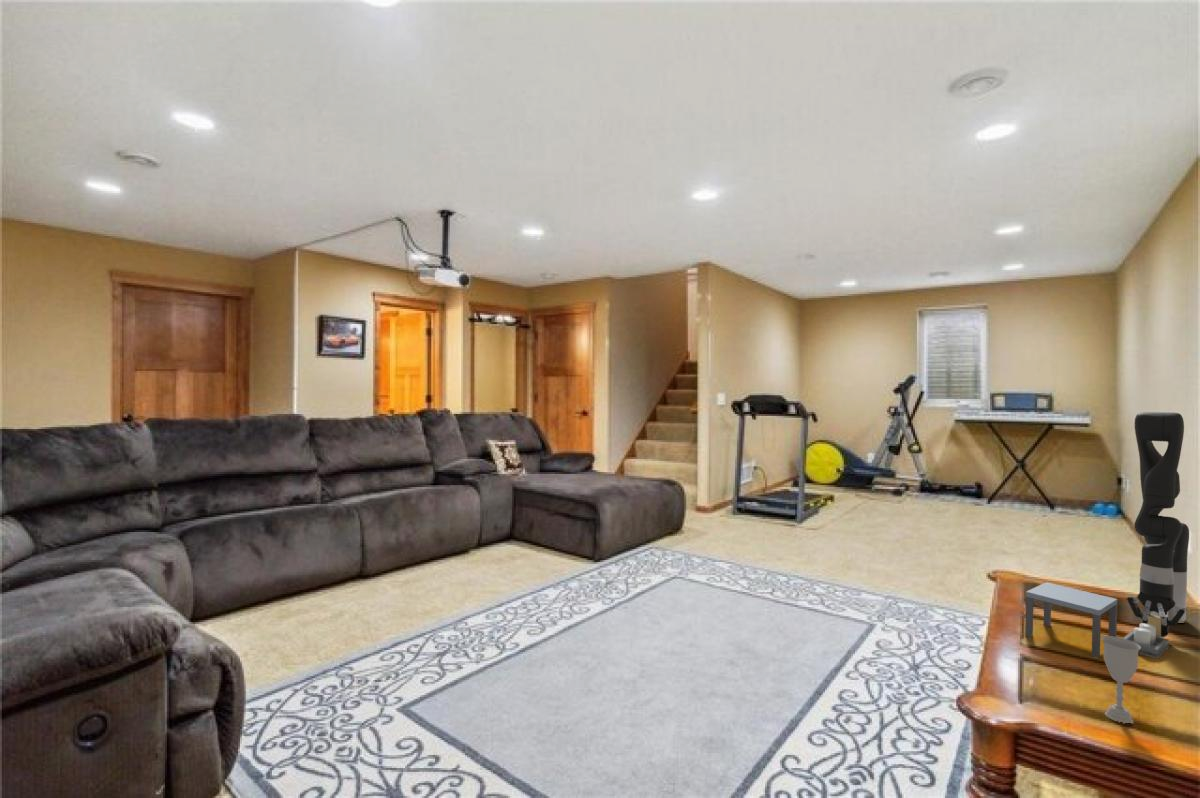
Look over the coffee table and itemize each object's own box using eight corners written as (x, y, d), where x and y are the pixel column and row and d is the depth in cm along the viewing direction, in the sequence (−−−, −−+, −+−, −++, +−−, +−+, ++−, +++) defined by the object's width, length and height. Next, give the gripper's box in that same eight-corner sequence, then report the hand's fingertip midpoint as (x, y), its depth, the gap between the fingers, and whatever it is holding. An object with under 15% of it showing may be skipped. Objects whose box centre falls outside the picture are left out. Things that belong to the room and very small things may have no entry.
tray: (1139, 633, 182) (1139, 611, 182) (1174, 642, 176) (1174, 620, 175) (1120, 648, 172) (1121, 625, 172) (1157, 658, 165) (1157, 634, 165)
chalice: (1147, 728, 131) (1149, 651, 131) (1112, 724, 133) (1114, 648, 132) (1124, 710, 139) (1126, 637, 138) (1092, 707, 140) (1094, 634, 139)
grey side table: (1045, 623, 189) (1046, 582, 189) (1116, 644, 174) (1117, 599, 174) (1025, 635, 180) (1026, 591, 180) (1098, 658, 165) (1099, 610, 165)
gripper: (1191, 583, 174) (1190, 639, 174) (1130, 571, 186) (1129, 623, 186) (1185, 588, 170) (1183, 645, 170) (1123, 575, 181) (1121, 629, 182)
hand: (1155, 633), depth 178 cm, fingers closed on tray, 3 cm apart
